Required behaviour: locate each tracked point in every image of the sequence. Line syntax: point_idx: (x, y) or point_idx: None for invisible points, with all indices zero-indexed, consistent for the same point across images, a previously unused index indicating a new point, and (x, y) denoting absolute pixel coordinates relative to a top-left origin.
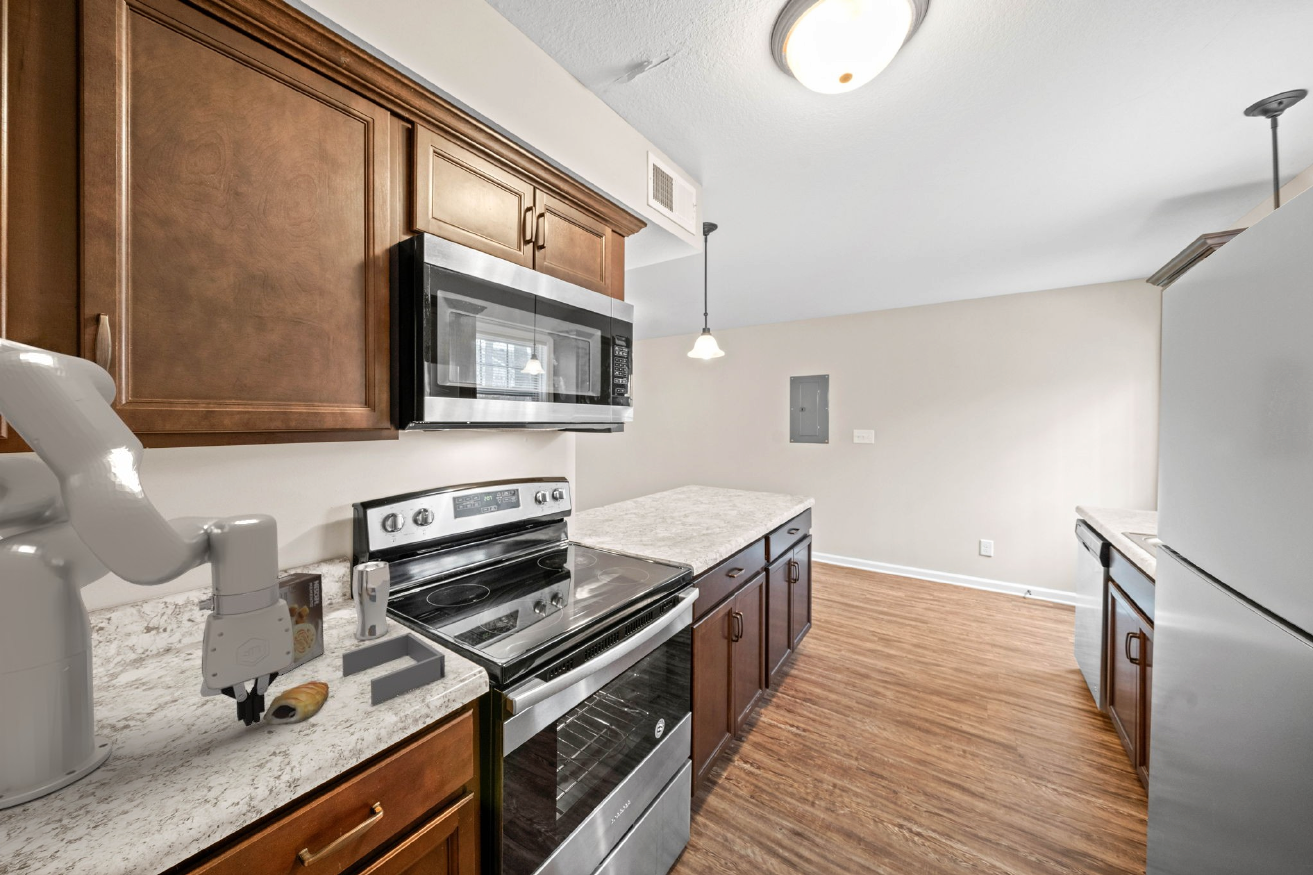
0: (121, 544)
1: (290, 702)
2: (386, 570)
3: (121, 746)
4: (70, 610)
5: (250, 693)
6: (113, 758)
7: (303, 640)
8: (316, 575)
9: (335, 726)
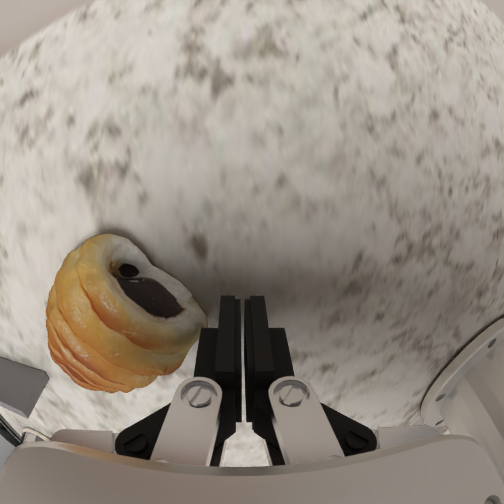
0: None
1: (113, 295)
2: None
3: (414, 395)
4: None
5: (241, 412)
6: (437, 367)
7: None
8: None
9: (48, 120)
